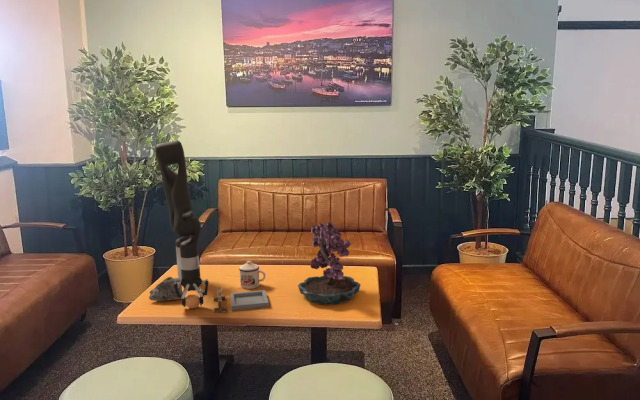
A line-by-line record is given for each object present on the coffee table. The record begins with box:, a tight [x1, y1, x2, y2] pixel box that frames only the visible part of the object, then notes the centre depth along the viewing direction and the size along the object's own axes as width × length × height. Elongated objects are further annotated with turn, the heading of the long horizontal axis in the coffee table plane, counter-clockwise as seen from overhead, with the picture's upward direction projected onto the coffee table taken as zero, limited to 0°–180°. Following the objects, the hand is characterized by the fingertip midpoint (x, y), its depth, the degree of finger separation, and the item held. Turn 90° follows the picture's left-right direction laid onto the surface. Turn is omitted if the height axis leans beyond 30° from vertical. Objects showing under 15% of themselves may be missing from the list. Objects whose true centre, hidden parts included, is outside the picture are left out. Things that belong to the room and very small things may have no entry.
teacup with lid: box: [238, 260, 266, 290], centre depth 248 cm, size 12×9×12 cm
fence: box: [213, 286, 228, 314], centre depth 227 cm, size 16×5×5 cm, turn 11°
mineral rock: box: [148, 276, 183, 302], centre depth 235 cm, size 13×11×10 cm
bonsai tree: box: [297, 221, 361, 306], centre depth 234 cm, size 35×27×33 cm
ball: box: [185, 293, 200, 309], centre depth 225 cm, size 6×6×6 cm
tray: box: [229, 289, 270, 312], centre depth 229 cm, size 15×15×2 cm
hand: (193, 305), depth 225 cm, fingers closed on ball, 6 cm apart
